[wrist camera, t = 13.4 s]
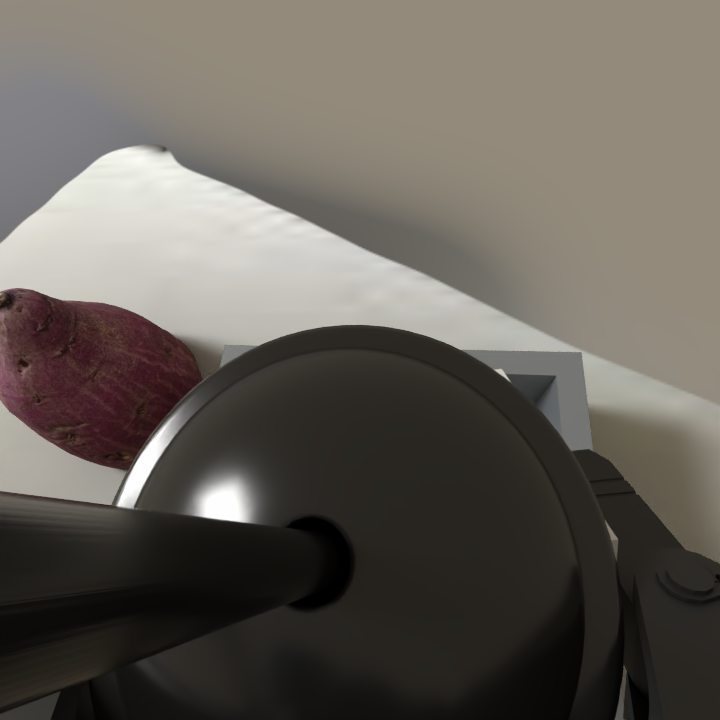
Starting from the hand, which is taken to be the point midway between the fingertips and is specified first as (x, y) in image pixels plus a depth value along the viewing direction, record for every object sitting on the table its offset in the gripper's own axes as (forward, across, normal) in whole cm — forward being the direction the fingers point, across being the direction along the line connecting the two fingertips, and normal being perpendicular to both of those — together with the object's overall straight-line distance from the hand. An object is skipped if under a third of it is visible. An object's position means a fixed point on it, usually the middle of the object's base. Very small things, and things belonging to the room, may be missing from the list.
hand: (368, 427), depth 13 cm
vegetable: (+16, -18, -4) cm, 24 cm away
